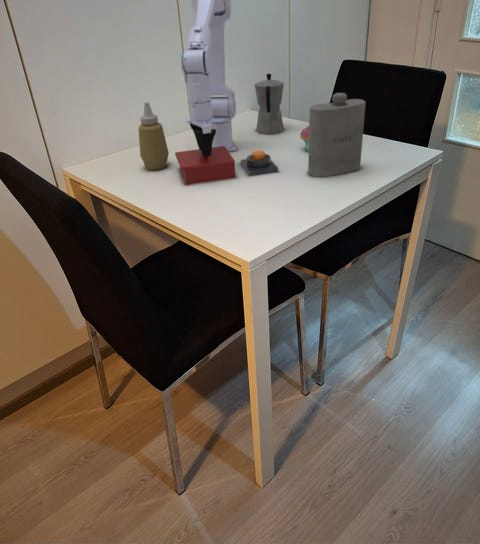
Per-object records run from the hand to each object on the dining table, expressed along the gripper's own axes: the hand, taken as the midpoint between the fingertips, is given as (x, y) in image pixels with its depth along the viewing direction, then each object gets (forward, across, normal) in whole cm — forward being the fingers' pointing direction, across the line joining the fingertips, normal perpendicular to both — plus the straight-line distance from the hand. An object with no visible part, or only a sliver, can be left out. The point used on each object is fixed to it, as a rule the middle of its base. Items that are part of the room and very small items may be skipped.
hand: (204, 152), depth 131 cm
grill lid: (+2, 0, 0) cm, 2 cm away
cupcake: (+6, -6, +34) cm, 35 cm away
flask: (+6, +12, +33) cm, 35 cm away
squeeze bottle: (+6, -10, -13) cm, 18 cm away
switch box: (+6, +2, +14) cm, 16 cm away
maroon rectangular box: (+6, 0, 0) cm, 6 cm away
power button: (+3, +1, +14) cm, 15 cm away
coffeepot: (+6, -30, +27) cm, 40 cm away
